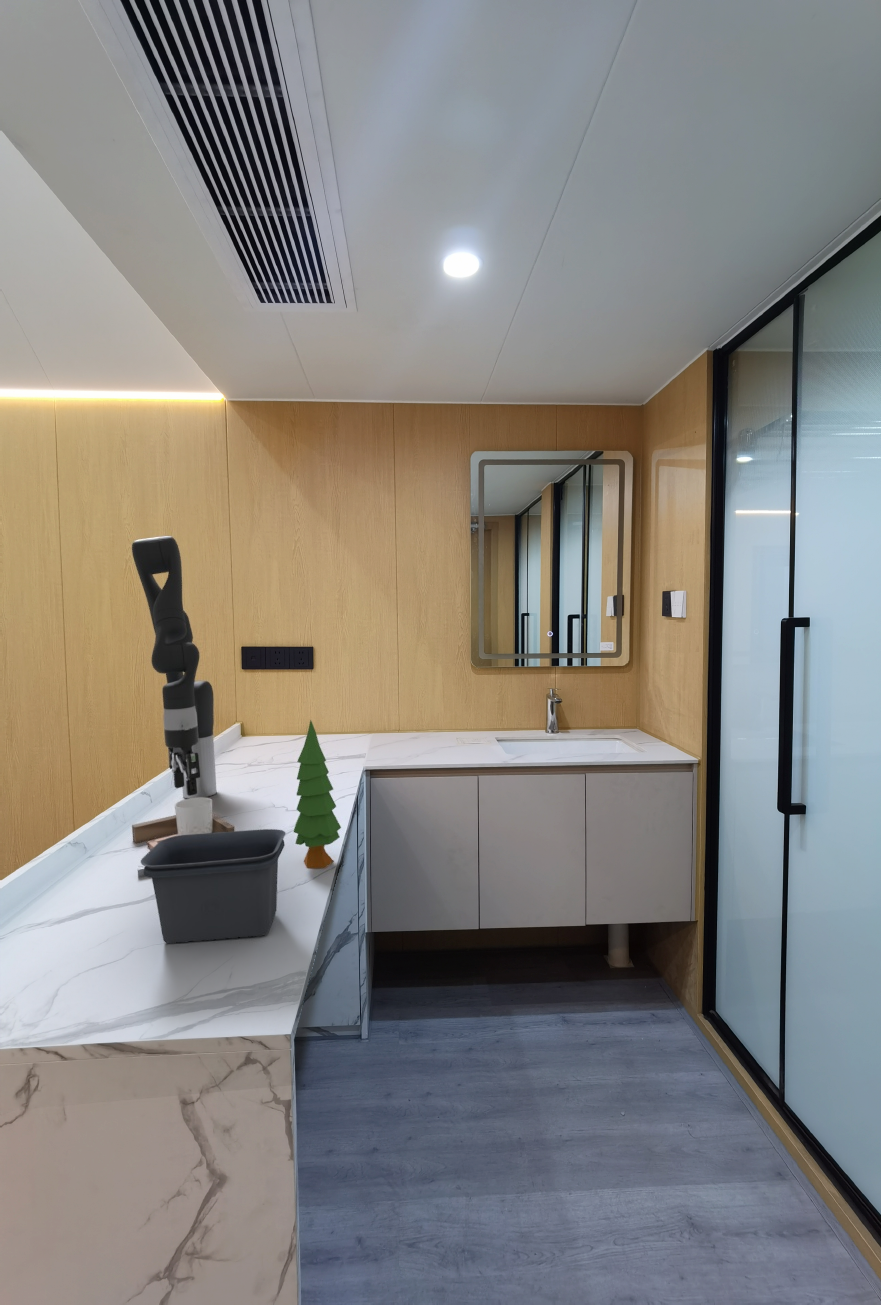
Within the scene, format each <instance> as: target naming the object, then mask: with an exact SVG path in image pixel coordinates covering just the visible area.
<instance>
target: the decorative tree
mask: <svg viewBox="0 0 881 1305" xmlns="http://www.w3.org/2000/svg"><path fill="white" fill-rule="evenodd" d="M313 724H314V723H313V721H312V719H310V721H309V725H308V730H307V734H306V737H305V741H304V744H303V748H302V749H301V752H300V754H299V757H298V758H297V763H299V768H298V773H297V777H296V780H297V781H299V782H298V786H297V792H296V796H297V797H298V796H300V798H299V801H298V803H297V807H296V810H297V812H299V815H298V817H297V820H296V822H295V824H294V829H293V833H295V834H297V836H296V840H295V845H299V846H301V845H304V844H305V847H307V848H308V849H307V853H306V854H305V857H304V859H303V864H304V865H305V868H306V869H326V868H328V866H330V864H332V863H333V862H334V859H333V858H331V856H330V855H329V854H328V853H327V851H326V850H325V846H327V845H331V844H332V843H334V842H336V840H338V839H340V834H339V832H338V831H339V830H340V829H341V828H342V826H341V825H340V822H339V821H338V819H337V817H336V815H335V813H334V812H333V810H335V808H337V805H336V802H335V801H334V799H333V796H332V795H331V791H334V787H333V785H332V783H331V781H330V778H329V777H328V774H329V773H330V771H329V770H328V767H327V765H326V763H325V762H327V759H326V758H325V755H324V753H323V750H322V748H321V746H320V742H319V739H318V736H317V732H316V729H315V727H314V725H313Z"/></svg>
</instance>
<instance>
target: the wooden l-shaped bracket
mask: <svg viewBox="0 0 881 1305" xmlns="http://www.w3.org/2000/svg"><path fill="white" fill-rule="evenodd" d="M131 828H132V829H131V831H132V833H131V834H132V842H134V843H135V844H138V843H142V842H147V841H151V840H156V839H160V838H164V837H167V836H166V835H168V836H172V835H176V834H178V829H177V822H176V814H173V815H169V816H166V817H161V818H160V817H159V818H157V819H153V820H147V821H143V822H140V823H134V824H131ZM233 831H236V829H235V826H234V825H233V824H231V823H230V822H228V821H226V820H224V819H223V818H221V817H219V816H218V815H216V814H214V812H212V833H218V832H233ZM175 833H176V834H175ZM171 834H172V835H171Z"/></svg>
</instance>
